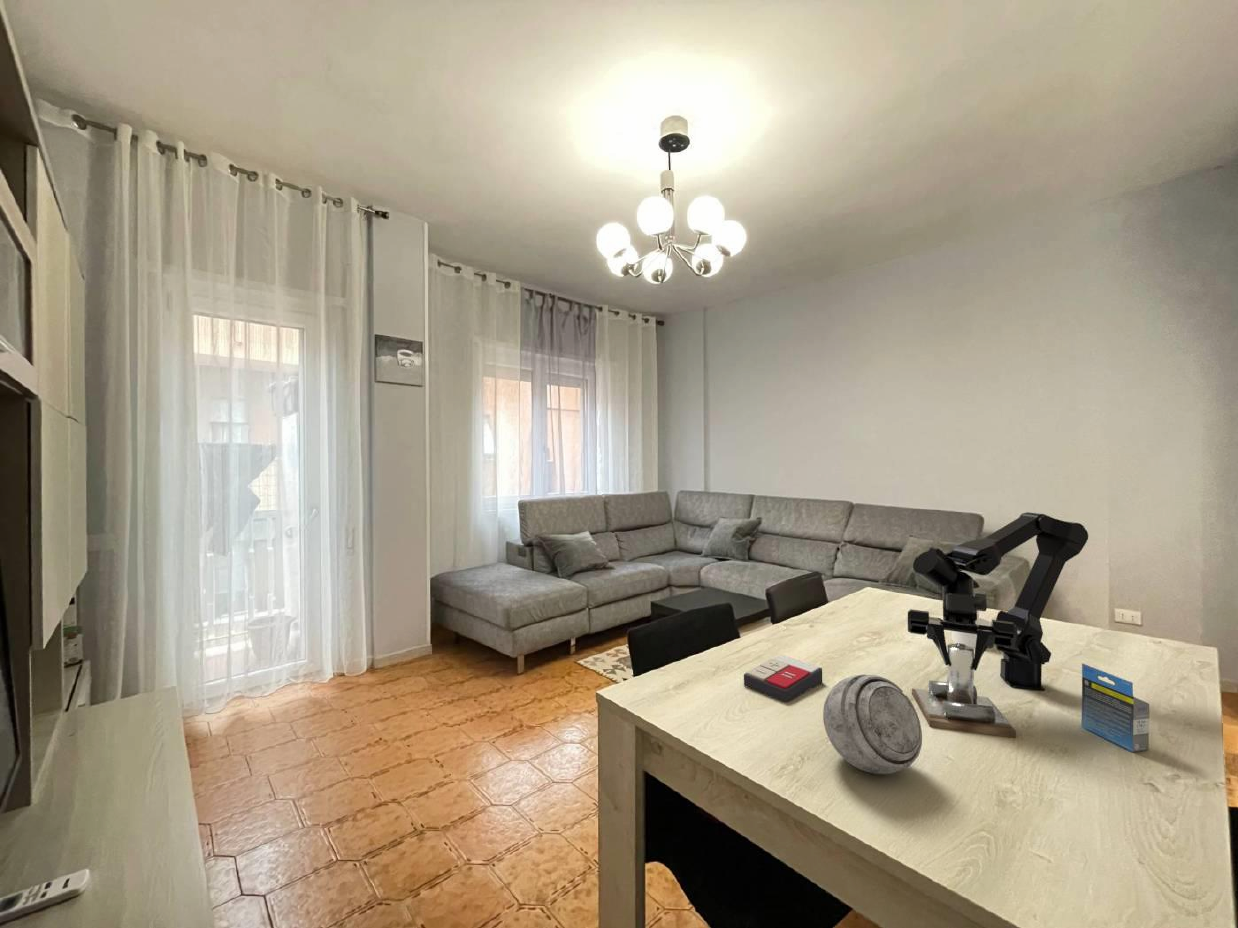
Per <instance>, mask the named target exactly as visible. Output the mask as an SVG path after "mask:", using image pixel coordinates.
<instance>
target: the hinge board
mask: <svg viewBox="0 0 1238 928" xmlns="http://www.w3.org/2000/svg"><path fill="white" fill-rule="evenodd" d="M915 689H916V688H911V695H912V697H913V699H914V700H915V703H916V705H917V706H918V708H919V709H920V712H921V714H922V715H923V717H924V718H925V721H926V722H927V724H928V726H929V727H931V728H939V729H946V730H954V731H961V732H962V731H963V732H968V733H978V734H983V735H992V736H1000V737H1005V738H1014V739H1016V737H1017V731H1016V730H1015V728H1014V727H1013V726H1012V725H1011V727H1006V726H998V725H991V724H990V723H984V722H976V721H968V720H960V719H952V718H948V719H944V718H936V717H929V715H928V713H927V712H926V710H925V708H924V706H923V705H922V703H921V701H920V699H919V697H918V696H917V694H916V692H915ZM927 690H928V691H929V689H927ZM980 697H982V696H980ZM936 698H937V699H938V701H939V702H940V704H941V705H942V701H947V698H946V697H937V696H936ZM973 704H974V702H973Z"/></svg>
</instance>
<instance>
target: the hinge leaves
mask: <svg viewBox="0 0 1238 928" xmlns="http://www.w3.org/2000/svg"><path fill="white" fill-rule="evenodd" d="M914 689H915V692H916V694H917V696H918V697H919V699H920V701H921V703H922V705H923V706H924V708H925V710H926V712H927V713H928V715H929V717H936V718H944V719H948V718H952V719H960V720H968V721H976V722H984V723H990V724H991V725H998V726H1006V727H1011V726H1012V724H1011V722H1009V721H1010V720H1008V719H1007V718H1006V717H1005V715H1004V714H1003V713H1002V712H1001V711H1000V709H999V708H998V707H997V706H996V705H995V703H993V701H992V700H991V699H990V698H989V697H988V696H986V697H985V696H981V697H980V696H979V695H978V691H977V688H976V686H975V685H974V690H973V702H974V704H968V703H959V702H951V701H942V705H941V704H940V702H939V701H938V699H937V698H936V696H937V697H946V698H947V681H938V680H928V689H918V688H914ZM928 690H929V691H928Z"/></svg>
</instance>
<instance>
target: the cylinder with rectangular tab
mask: <svg viewBox="0 0 1238 928" xmlns="http://www.w3.org/2000/svg"><path fill="white" fill-rule="evenodd" d="M991 622H992V621H989V620H987V619H984V618H981V617H980V611H977V621H976V624H977V625H984V626H991ZM976 638H977V634H970V633H963V632H956V631H951V641H952V642H953V643H955V642H956V643H961V644H964V645H966V646H969V647H971V648H973V649H975V646H976ZM956 643H955V644H956Z"/></svg>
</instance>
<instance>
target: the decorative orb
mask: <svg viewBox="0 0 1238 928" xmlns="http://www.w3.org/2000/svg"><path fill="white" fill-rule="evenodd" d="M822 719H823V725H824V726H823V727H824V730H825V733H826V736H827V738H828V740H829V741H830V744H831V745H832V746H833V747H832V748H833V749H834V750H835V751H836V752H837V753H838V755H840V757H842V758H843V760H845V761H846V762H847V763H848V764H850V765H852V766H853V767H855V768H857V769H859V770H861V771H864V772H867V773H870V774H876V775H889V774H894V773H897V772H900V771H902V770H905V769H907V768H909V767H910V766H911V765H912V764H914V762H915V761H916V760H917V758H918V757H919V755H920V753H921V750H922V745H923V730H922V725H921V721H920V718H919V715H918V712H917V711H916V708H915V707H914V704H913V702H912V701H911V699H910V697H908V695H906V694H904V691H903V689H902V688H901V687H899V685H897V684H896V683H894V682H893V681H891V680H890V679H887V678H885V677H882V676H881V675H876V674H856V675H851V676H848V677H845V678H843V679H841V680H839V682H837V683H836V684H835V685H834V686H833V687H832V688H831V689H830V691H829V692H828V694H827V696H826V698H825V701H824V704H823V710H822Z"/></svg>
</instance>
